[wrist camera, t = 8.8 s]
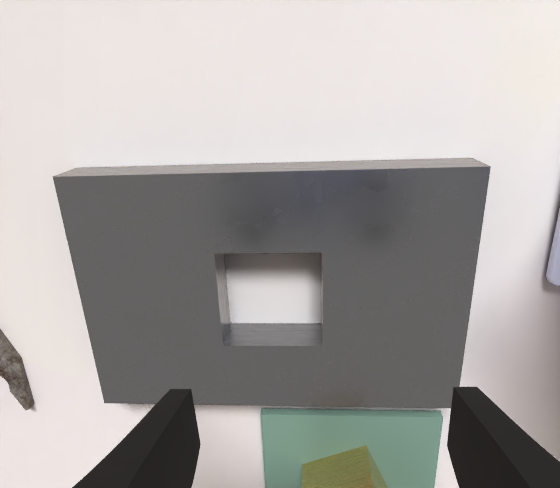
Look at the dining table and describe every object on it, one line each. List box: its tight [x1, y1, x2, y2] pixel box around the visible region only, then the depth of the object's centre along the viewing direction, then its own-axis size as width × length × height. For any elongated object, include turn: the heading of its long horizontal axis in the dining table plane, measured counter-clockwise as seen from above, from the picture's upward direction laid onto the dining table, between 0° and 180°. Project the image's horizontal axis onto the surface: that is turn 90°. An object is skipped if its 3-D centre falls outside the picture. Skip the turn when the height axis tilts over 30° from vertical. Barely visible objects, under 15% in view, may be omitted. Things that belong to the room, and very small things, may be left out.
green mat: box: [261, 408, 443, 488], centre depth 25 cm, size 10×10×1 cm
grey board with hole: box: [53, 158, 491, 408], centre depth 20 cm, size 18×12×2 cm, turn 92°
